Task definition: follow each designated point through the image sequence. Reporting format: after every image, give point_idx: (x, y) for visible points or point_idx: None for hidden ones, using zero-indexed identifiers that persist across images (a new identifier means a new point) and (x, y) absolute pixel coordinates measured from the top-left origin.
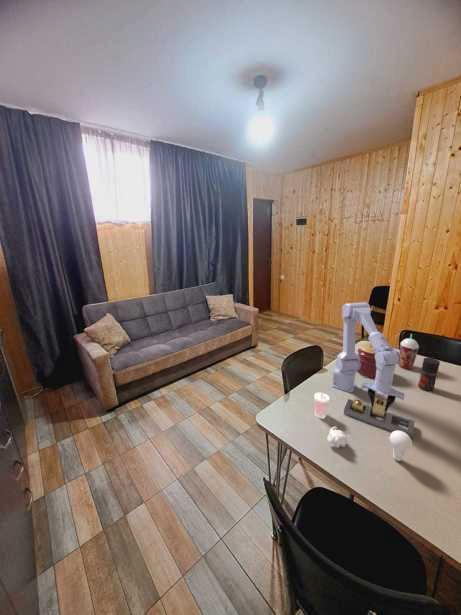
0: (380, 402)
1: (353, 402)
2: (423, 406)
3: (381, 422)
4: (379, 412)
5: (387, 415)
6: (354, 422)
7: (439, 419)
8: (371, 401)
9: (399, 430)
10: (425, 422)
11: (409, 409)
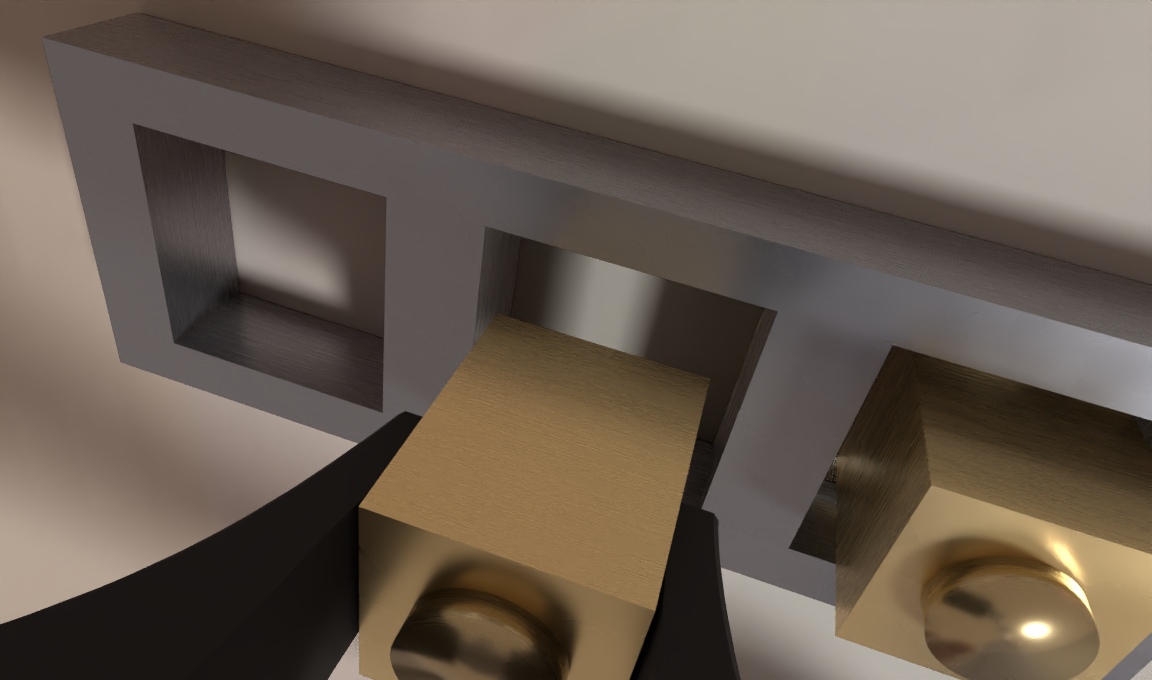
0: (465, 633)
1: (1142, 617)
2: None
3: (547, 178)
4: (554, 389)
5: None
6: (1132, 114)
7: (29, 473)
8: (717, 659)
9: (262, 82)
10: (107, 407)
11: None
